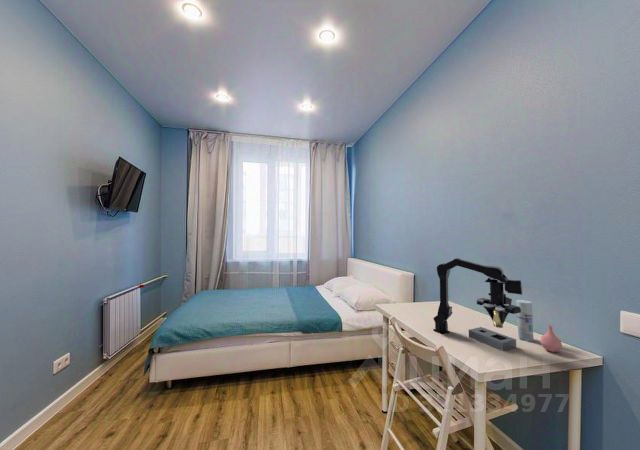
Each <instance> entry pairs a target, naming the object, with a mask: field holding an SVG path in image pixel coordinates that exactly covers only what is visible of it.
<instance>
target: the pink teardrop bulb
mask: <svg viewBox="0 0 640 450" xmlns="http://www.w3.org/2000/svg"><path fill="white" fill-rule="evenodd" d="M540 337H541V338H540V344H541V346H542V348H543V349H545V350H547V351H549V352H550V351H551V352H550V353H555V352H561V351H562V349H563V344H562V340H561V339H560V338H559V337H558V336H556V334H555V332H554V330H553V325H551V324H548V325H547V331H546V333H545V334H543V335H542V336H540Z"/></svg>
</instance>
